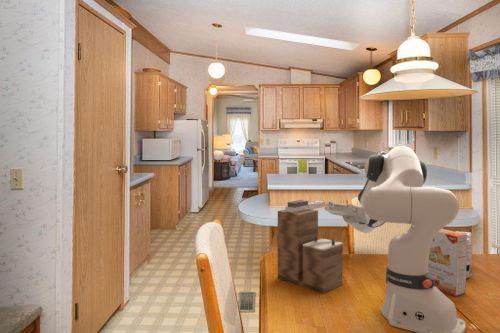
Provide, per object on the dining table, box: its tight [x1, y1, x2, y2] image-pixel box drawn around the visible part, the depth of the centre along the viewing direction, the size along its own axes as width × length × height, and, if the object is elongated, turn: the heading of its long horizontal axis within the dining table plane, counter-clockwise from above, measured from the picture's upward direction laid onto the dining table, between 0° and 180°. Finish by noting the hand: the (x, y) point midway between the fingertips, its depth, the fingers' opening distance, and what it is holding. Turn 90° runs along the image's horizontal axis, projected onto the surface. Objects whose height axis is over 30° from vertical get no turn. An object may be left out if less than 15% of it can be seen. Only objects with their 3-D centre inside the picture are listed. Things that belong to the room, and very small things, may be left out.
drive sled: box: [284, 199, 326, 213], centre depth 146 cm, size 4×20×4 cm, turn 135°
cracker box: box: [428, 228, 467, 297], centre depth 133 cm, size 14×6×21 cm, turn 27°
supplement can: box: [466, 237, 473, 280], centre depth 145 cm, size 8×8×15 cm
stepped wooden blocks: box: [277, 209, 344, 294], centre depth 140 cm, size 21×12×26 cm, turn 44°
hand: (338, 204), depth 163 cm, fingers open, 8 cm apart
